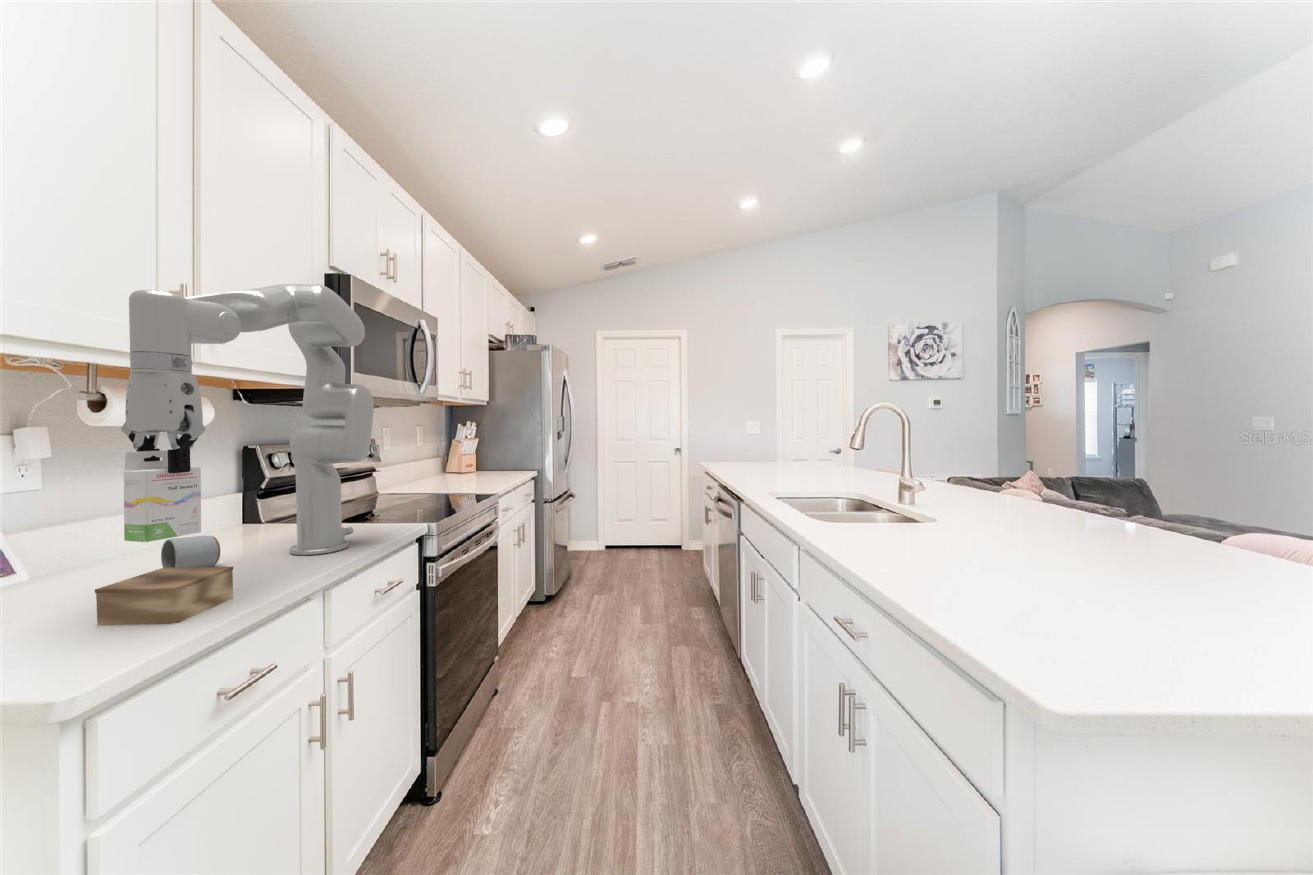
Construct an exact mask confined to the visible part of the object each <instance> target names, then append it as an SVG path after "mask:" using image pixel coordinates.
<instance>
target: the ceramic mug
mask: <svg viewBox="0 0 1313 875" xmlns="http://www.w3.org/2000/svg"><path fill="white" fill-rule="evenodd" d="M220 544H221V543H219V540H218V538H216V537H215V536H213V535H198V536H189V537H188V536H187V537H172V538H167V539H165V541H164V542H163V545H162V546H161V552H160V560H161V566H162V568H166V567H215V565H217V563H218V562H219V561H220V557H221V546H220Z"/></svg>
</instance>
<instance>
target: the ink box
mask: <svg viewBox="0 0 1313 875" xmlns="http://www.w3.org/2000/svg"><path fill="white" fill-rule="evenodd" d="M152 456H156V457H160V458H162V459H161V460H160V461H150V462H145V461H144V459H145V458H150V457H152ZM124 460H125V461H124V470H123V518H124V519H123V522H124V524H123V525H124V528H123V529H124V532H123V534H124V536H123V537H124V541H127V542H137V543H144V542H145V543H149V542H156V541H161V540H167V539H172V538H179V537H182V536H189V535H192V534H193V535H194V534H199V533H201V532H202V493H201V492H202V479H201V478H202V475H201V471H202V469H201V467H197V466H195V467H194V466H190V469H191V470H190V471H189V472H183V473H169V472H168V450H160V451H140V452H136V451H126V452H125V457H124Z"/></svg>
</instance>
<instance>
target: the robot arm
mask: <svg viewBox="0 0 1313 875" xmlns="http://www.w3.org/2000/svg"><path fill="white" fill-rule="evenodd" d="M128 314H129V316H128V318H129V319H128V320H129V323H128V324H129V326H128V327H129V362H130V363H129V368H130V373H129V376H128V380H127V385H126V393H125V394H126V396H125V422H124V424H122V426H121V432H122V433H123V434H125V435H126V436H127V437H128V439H129V440H130V442H131V443H132V448H133V449H134V450H135V452H140V451H161V450H160V448H157V446H158V441H159V437H160V433H166V435H167V439H168V441H169V446H170V448H171V449H167V451H168V472H169V473H183V472H189V471H190V470H191V469H190V467H191V450H192V449H193V448H194V444H195V442H196V441H197V440H198V439H199V437H200V436H202V434H203V433H205V431H206V427H205V426H204V420H203V419H204V418H203V416H204V414H203V404H202V398H201V391H200V386H199V383H198V379H197V377H196V374H193V370H192V369H193V368H192V367H193V365H194V364H193V360H192V358H193V357H192V356H193V355H192V354H193V353H192V344H198V345H199V344H200V345H203V344H205V345H209V344H211V345H215V344H216V345H217V344H227V343H229V342H231V341H235V339H237V338H238V336H239V335H240V333H253V332H262V331H267V330H270V329H273V328H274V329H275V328H277V327H281V326H285V325H287V326H288V331H289V335H290V336H291V338H292V339H293V341H294V342H295V344H296V345H297V347H298V348H299V350H300V352H301V353H302V355H303V358H304V360H305V364H306V374H305V380H304V389H303V398H302V411H303V414H304V415H305V416H306V417H307V418H309V419H311V420H313V421H314V420H315V421H326V422H328V421H331V422H332V421H333V422H334V421H335V422H336V421H337V422H338V421H343V422H344V424H343V425H342V424H341V425H339V424H338V425H337V424H335V425H333V424H312V425H311V424H310V425H304V426H301V427H299V428H297V429H296V430H295V431H293V433H292V434H291V436H290V439H289V448H290V453H291V457H292V461H293V465H294V473H295V498H296V499H295V500H296V501H295V505H296V506H295V507H296V542H297V543H296V544H294V545H291V546H290V547H289V553H290V554H291V555H296V556H313V555H323V554H329V553H335V552H339V551H342V550H344V549H346V548H348V547H349V546H350V541H349V540H347V539H345V537H346V536H349V535H352V534H353V533H354V528H353V526H347V527H342V526H343V524H342V523H343V522H342V518H343V517H342V481H341V476H340V474H339V472H338V471H337V469H336V468H335V466H334V465H333V464H340V463H341V464H343V463H345V464H351V463H352V464H353V463H360V462H361V461H364V460H365V459H366V457H368V454H369V452H370V448H371V440H372V431H373V430H372V429H373V422H374V412H375V410H374V407H375V406H374V405H375V404H374V398H373V395H372V393H371V391H370V389H368V388H367V387H366V386H364V385H362V384H357V383H346V365H345V363H344V362H343V360H342V358H341V357H340V356H339V355H338V353H337V352H336V351H335V350H334V347H336V348H337V347H338V348H340V347H343V348H344V347H345V348H347V347H348V348H353V347H357V346H359V345H360V344H362V342H363V341H364V339H365V336H366V330H365V326H364V323H363V321H362V319H361V318H360V316H359V315H358V314H357V312H355V311H354V310H353V309H352V308H351V306H350V305H348V303H347V302H346V301H345V300H344V299H343V298H342V297H341V296H340V295H339V294H337V293H336V292H335V291H334V290H333V289H331V288H329V287H328V286H325V285H323V284H320V283H319V284H318V283H317V284H316V283H314V284H313V283H312V284H311V283H310V284H309V283H303V284H302V283H279V284H275V285H273V284H272V285H268V286H261V287H258V288H257V287H256V288H250V289H243V290H242V289H241V290H233V291H225V292H219V293H211V294H203V295H202V294H201V295H193V296H191V295H190V296H183V295H179V294H177V293H173V292H168V291H163V290H155V289H139V290H135V291H133V292H132V293H130V295H129V298H128ZM332 347H333V348H332ZM147 436H148V437H147ZM179 436H180V438H179ZM144 461H145V462H150V461H161V457H156V456H152V457H150V458H145V459H144Z"/></svg>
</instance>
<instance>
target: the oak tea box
mask: <svg viewBox="0 0 1313 875" xmlns="http://www.w3.org/2000/svg"><path fill="white" fill-rule="evenodd" d="M233 571H234V566H211V567H166V568H163V567H162V568H158V569H155V570H153V571H148V572H146V573H143V574H142V573H141V574H140V575H137V576H133V577H130V578H127V579H123V580H120V581H117V582H114V583H112V584H108V585H105V586H101V587H99V588H96V589H94V594H95V596H96V622H97V626H128V625H129V626H130V625H131V626H133V625H136V626H138V625H173V624H172V623H177V624H179V623H181V622H183V621H186V620H187V618H188V619H190V618H192V617H194V616H196V615H199V614H201V613H203V612H205V611H207V610H209V609H211V608H214V607H216V606H218V605H220V604H223V603H225V602H228V601H229V600H231V599H233V598H234V580H233V579H234V577H233V576H234V574H233Z"/></svg>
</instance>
